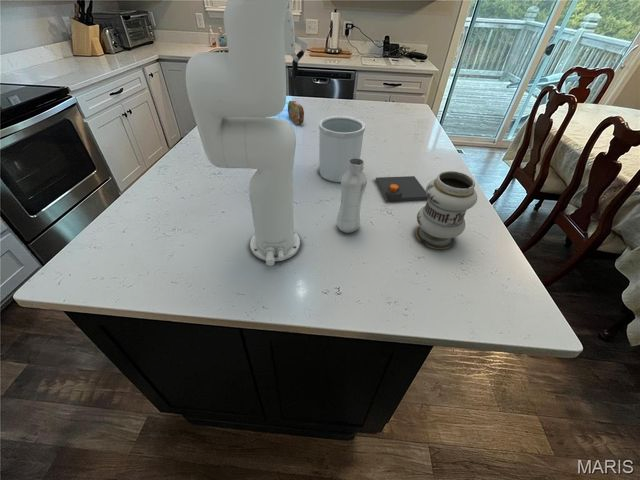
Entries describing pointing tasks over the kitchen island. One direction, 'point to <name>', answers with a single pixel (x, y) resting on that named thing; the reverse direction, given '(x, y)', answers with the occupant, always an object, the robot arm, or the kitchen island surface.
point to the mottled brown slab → (295, 112)
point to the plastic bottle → (351, 196)
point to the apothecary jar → (445, 209)
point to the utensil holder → (339, 145)
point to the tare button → (393, 188)
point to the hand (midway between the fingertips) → (278, 76)
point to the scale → (401, 189)
